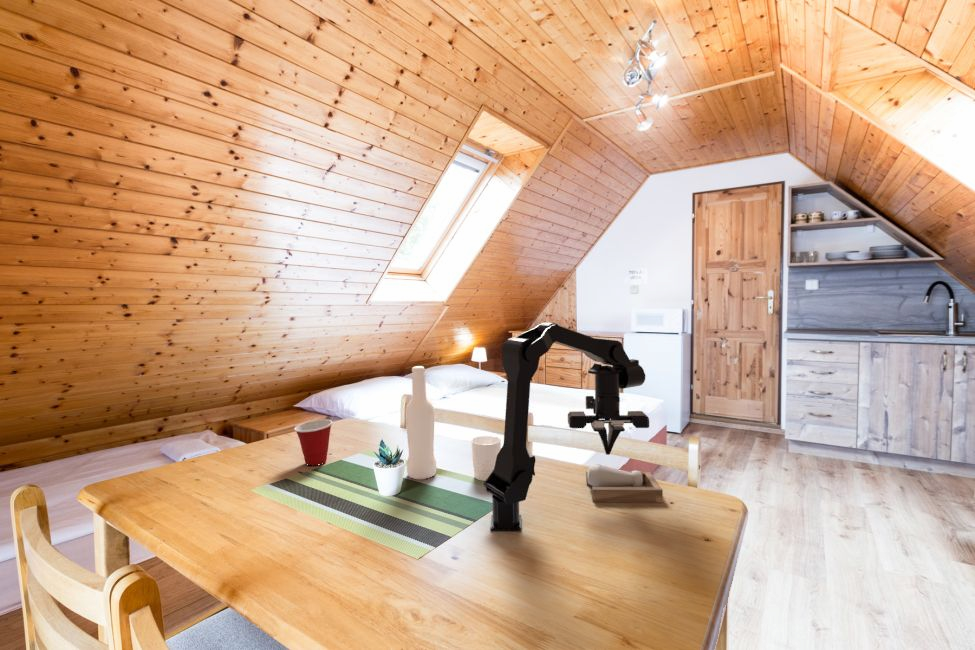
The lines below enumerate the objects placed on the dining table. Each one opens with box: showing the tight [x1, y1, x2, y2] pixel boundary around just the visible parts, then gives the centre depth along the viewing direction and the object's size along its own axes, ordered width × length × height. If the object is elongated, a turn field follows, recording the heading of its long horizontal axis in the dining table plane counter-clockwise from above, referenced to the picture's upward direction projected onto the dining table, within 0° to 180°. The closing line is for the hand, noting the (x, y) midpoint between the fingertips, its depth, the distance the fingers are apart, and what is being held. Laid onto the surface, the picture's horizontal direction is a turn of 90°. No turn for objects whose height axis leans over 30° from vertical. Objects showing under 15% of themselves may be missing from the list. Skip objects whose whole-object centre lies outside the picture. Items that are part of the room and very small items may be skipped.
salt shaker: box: [587, 463, 643, 487], centre depth 121 cm, size 6×6×13 cm
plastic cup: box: [293, 419, 333, 465], centre depth 145 cm, size 11×11×12 cm
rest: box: [585, 470, 664, 503], centre depth 120 cm, size 12×16×3 cm
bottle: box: [404, 365, 438, 480], centre depth 133 cm, size 8×8×30 cm
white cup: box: [471, 435, 502, 482], centre depth 132 cm, size 8×8×10 cm
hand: (607, 454), depth 119 cm, fingers closed
